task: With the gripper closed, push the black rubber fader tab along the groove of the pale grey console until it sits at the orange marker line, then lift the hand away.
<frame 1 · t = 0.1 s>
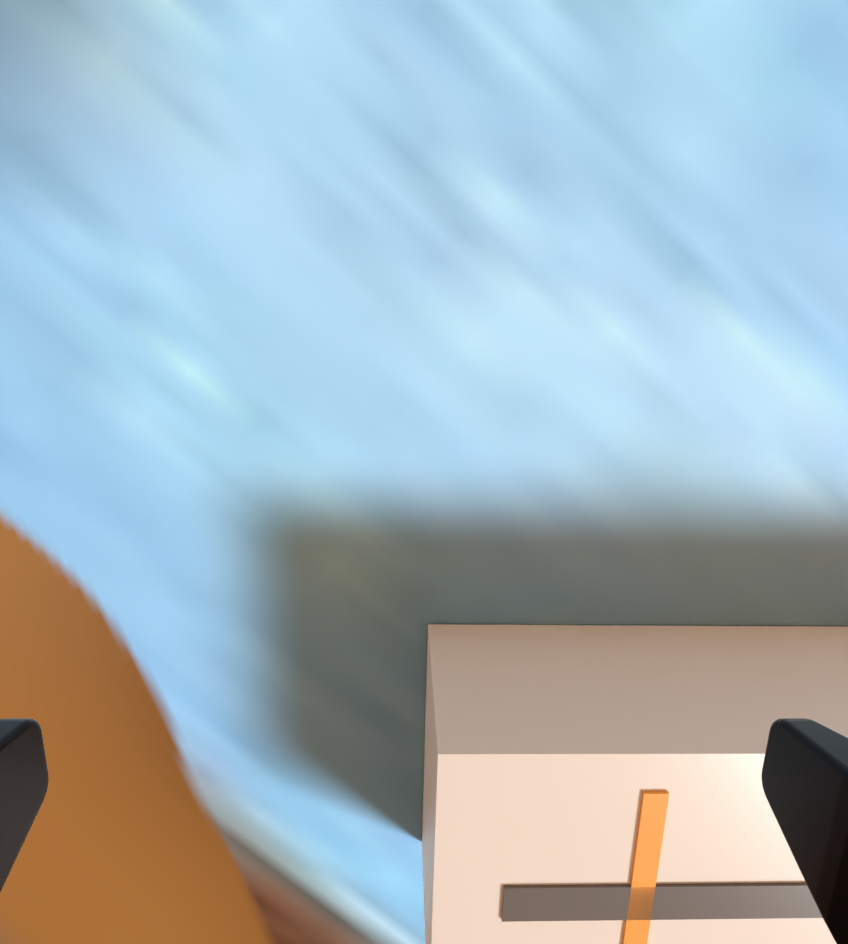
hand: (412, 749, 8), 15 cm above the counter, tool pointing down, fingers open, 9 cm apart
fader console: (700, 739, 25), on the counter
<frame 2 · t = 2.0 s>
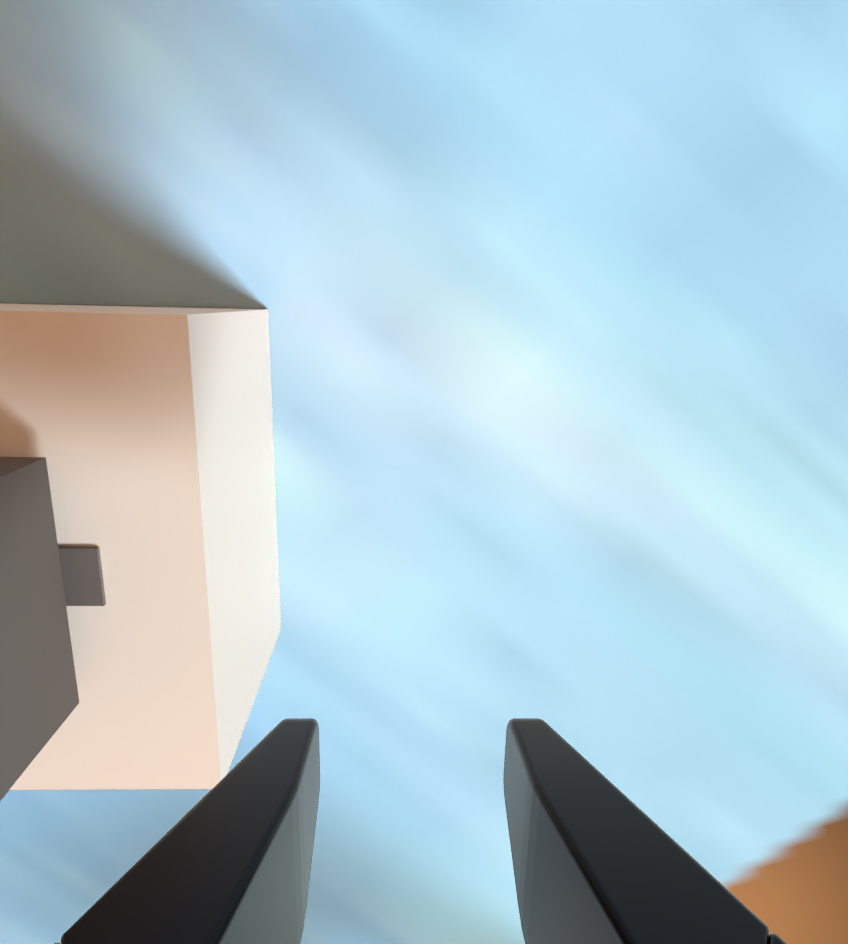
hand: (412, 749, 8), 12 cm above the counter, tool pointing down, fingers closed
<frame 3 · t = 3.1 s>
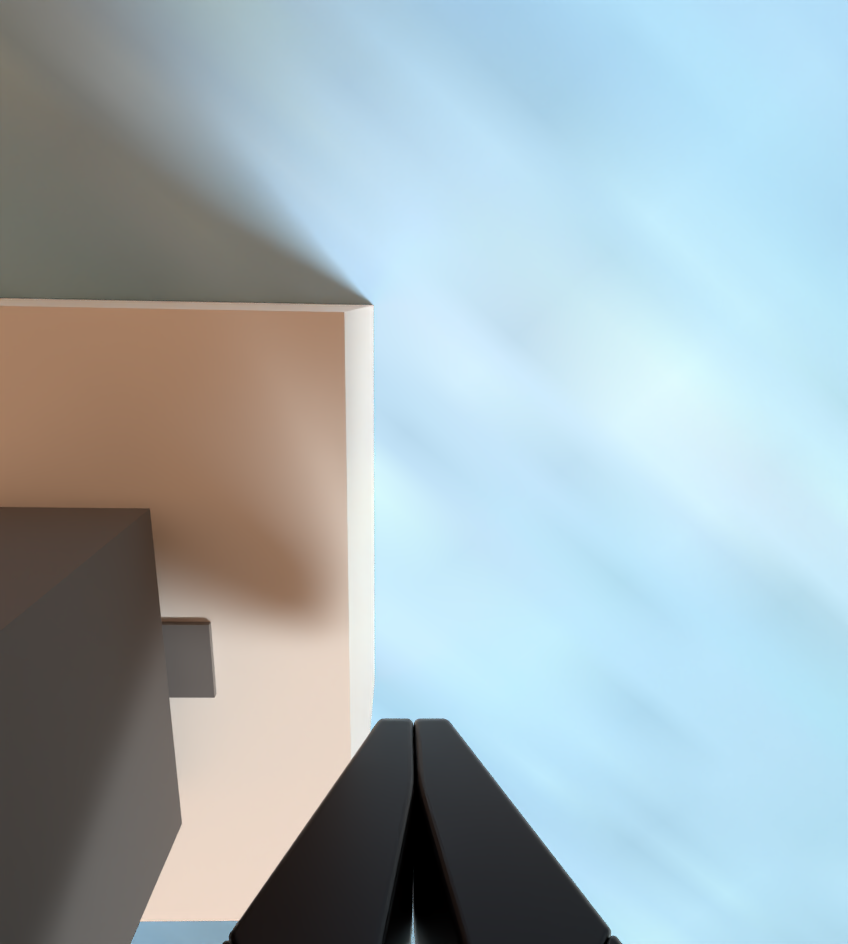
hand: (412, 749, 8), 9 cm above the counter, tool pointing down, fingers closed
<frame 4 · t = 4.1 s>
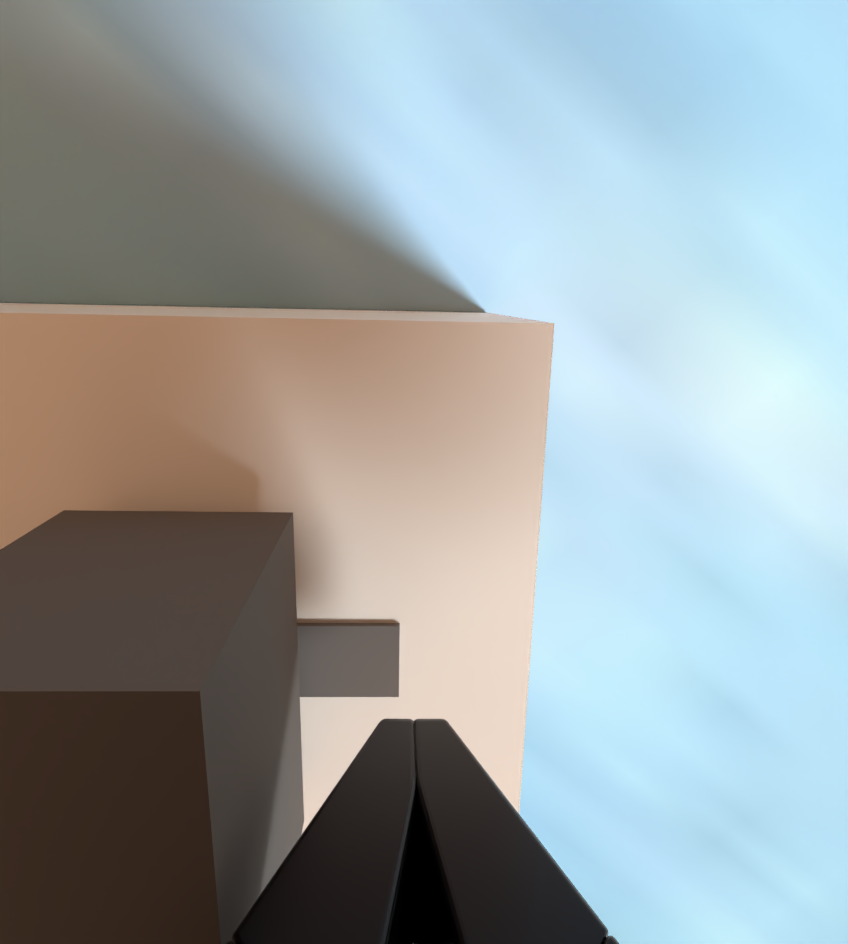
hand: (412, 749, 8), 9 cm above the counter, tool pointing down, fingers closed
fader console: (45, 507, 16), on the counter
fader tab: (140, 771, 7), point 9 cm above the counter, slide at 0.9 cm, touching gripper
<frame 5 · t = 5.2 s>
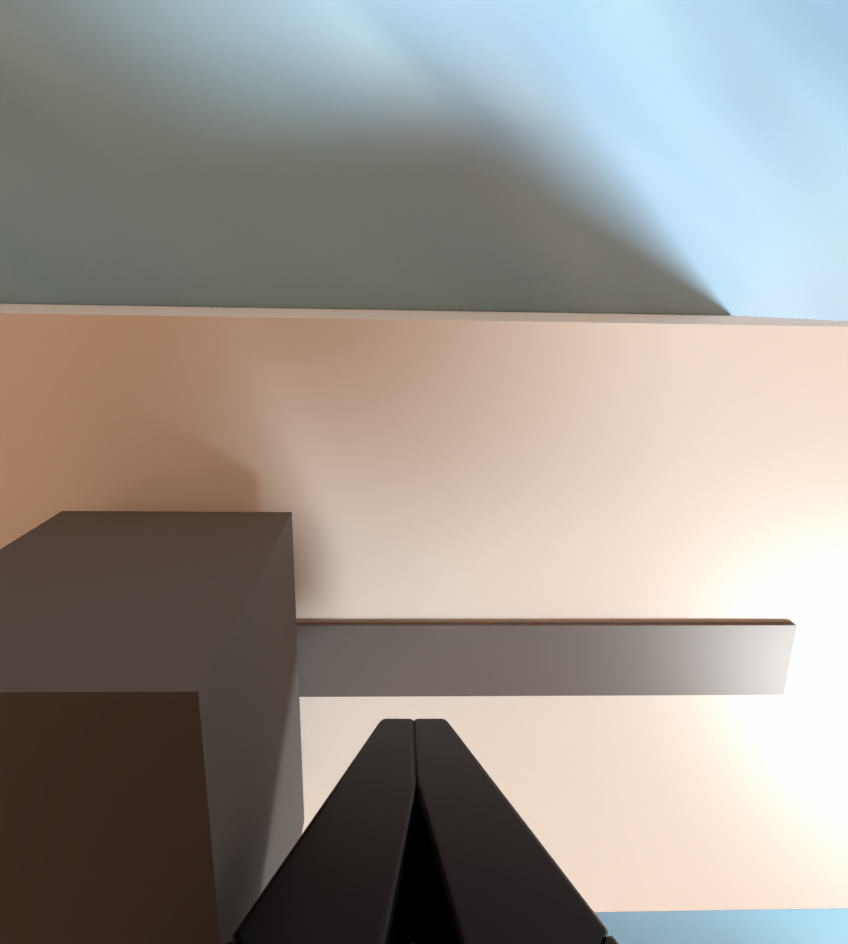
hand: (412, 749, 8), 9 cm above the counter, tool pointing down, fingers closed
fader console: (283, 509, 16), on the counter
fader tab: (140, 772, 7), point 9 cm above the counter, slide at 6.9 cm, touching gripper
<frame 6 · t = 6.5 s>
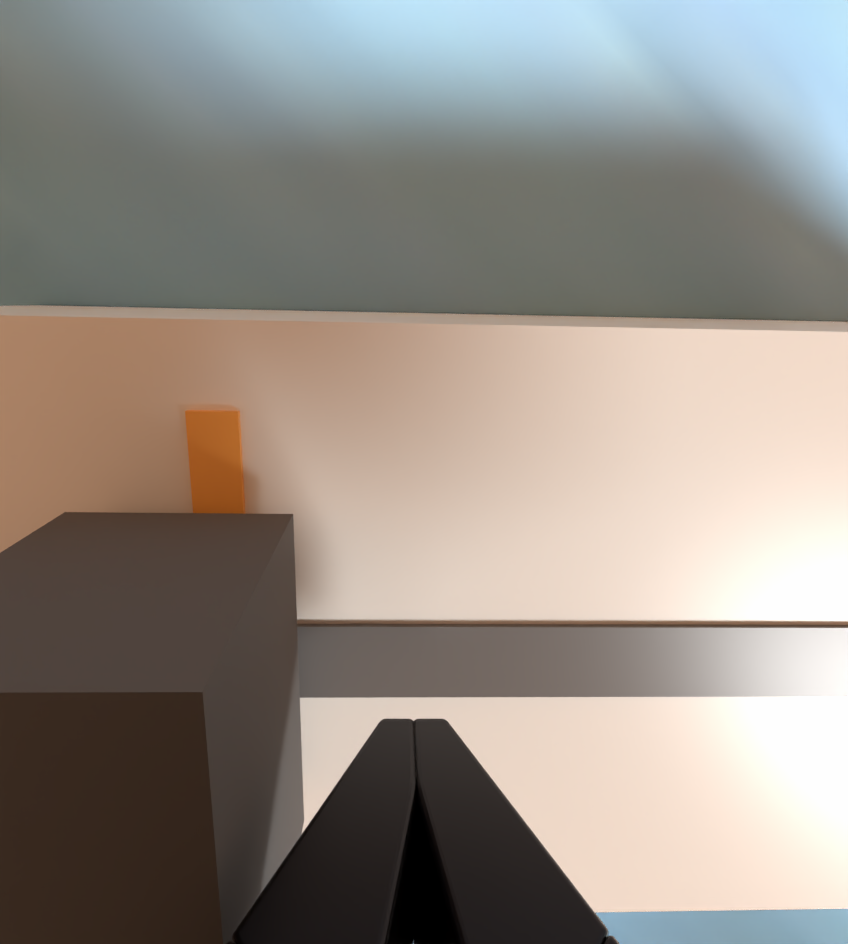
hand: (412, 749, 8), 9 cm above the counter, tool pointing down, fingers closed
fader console: (494, 512, 17), on the counter
fader tab: (142, 772, 7), point 9 cm above the counter, slide at 12.4 cm, touching gripper
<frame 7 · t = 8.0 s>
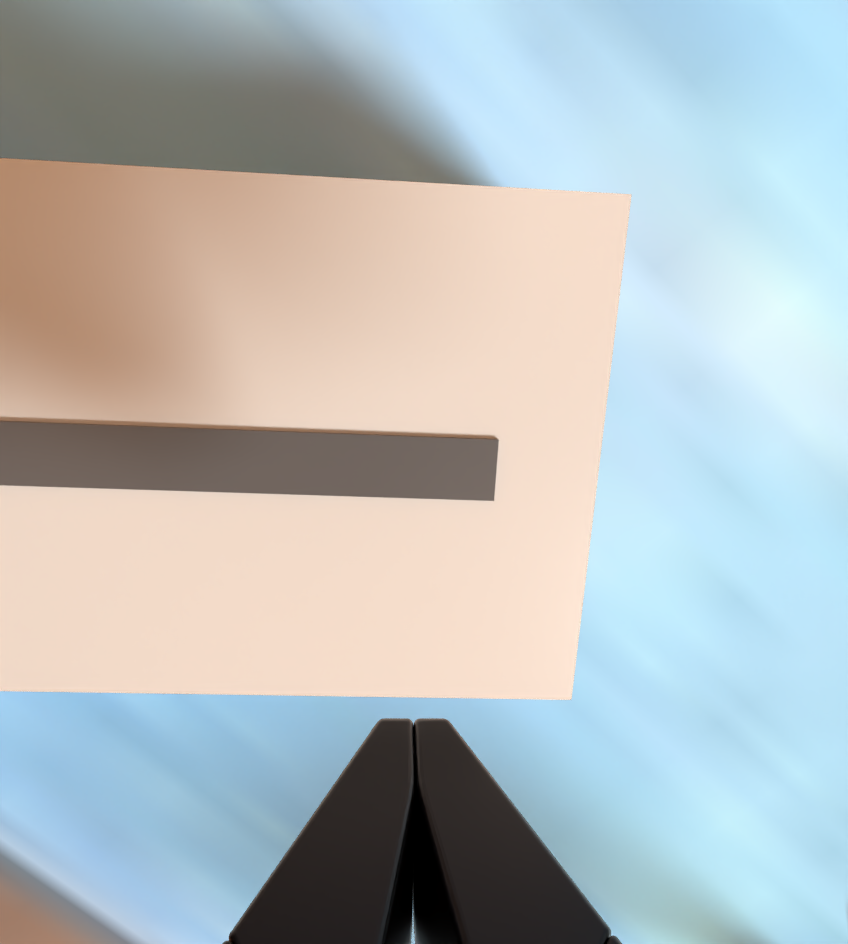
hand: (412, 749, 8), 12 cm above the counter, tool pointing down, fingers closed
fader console: (152, 398, 18), on the counter
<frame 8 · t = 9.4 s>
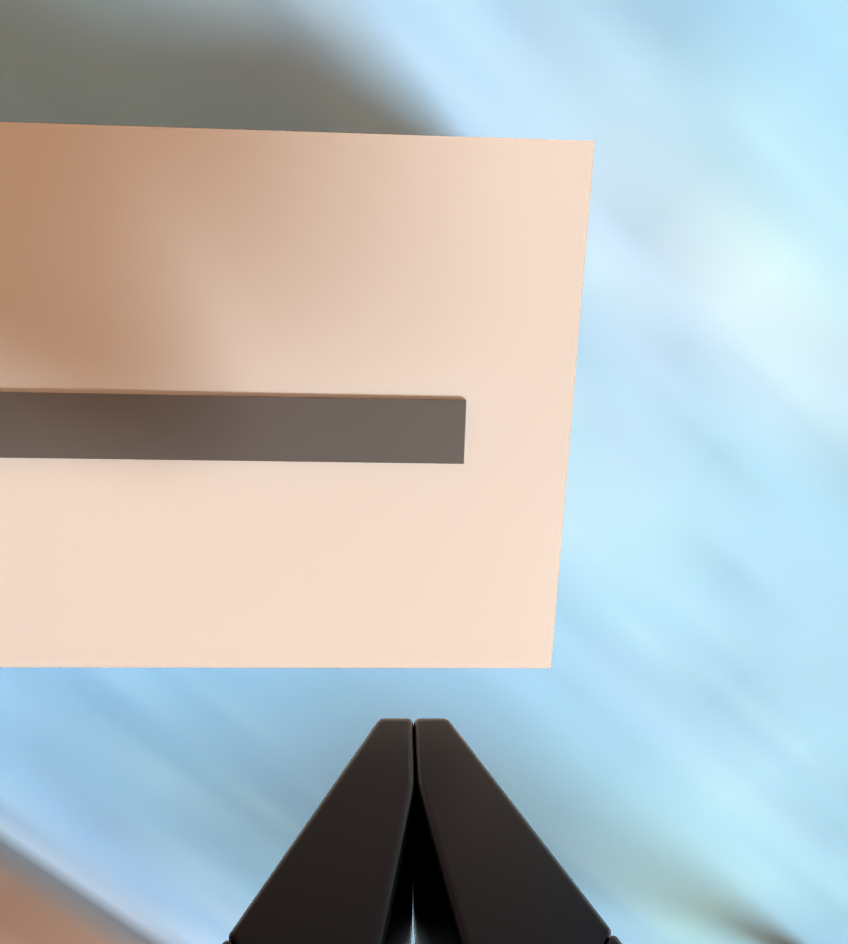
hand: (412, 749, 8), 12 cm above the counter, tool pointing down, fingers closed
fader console: (130, 378, 18), on the counter
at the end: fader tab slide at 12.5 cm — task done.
